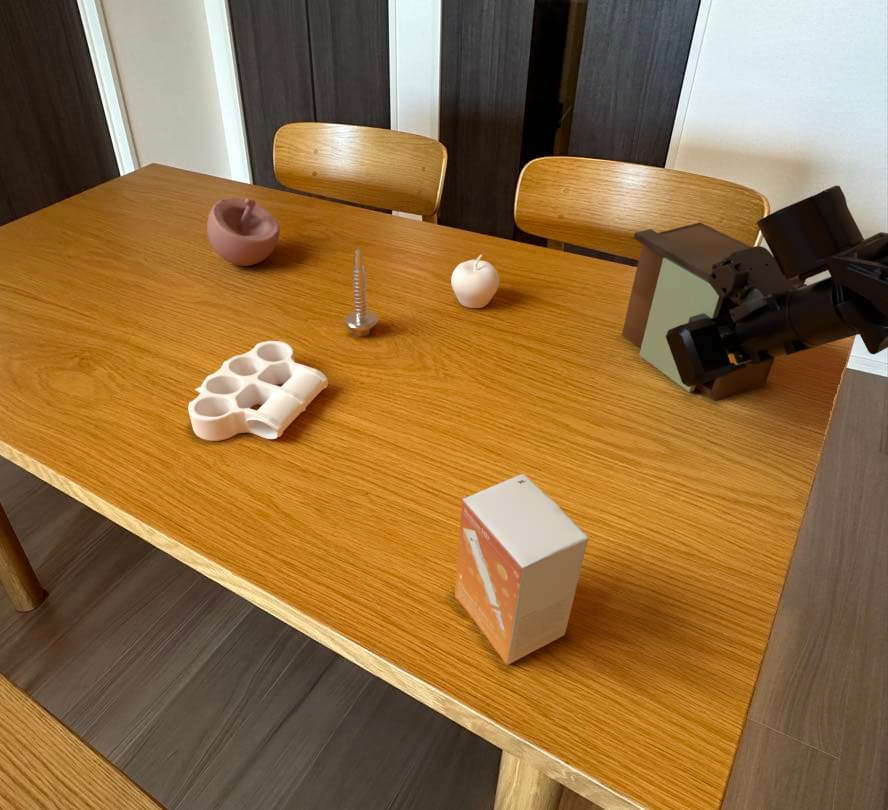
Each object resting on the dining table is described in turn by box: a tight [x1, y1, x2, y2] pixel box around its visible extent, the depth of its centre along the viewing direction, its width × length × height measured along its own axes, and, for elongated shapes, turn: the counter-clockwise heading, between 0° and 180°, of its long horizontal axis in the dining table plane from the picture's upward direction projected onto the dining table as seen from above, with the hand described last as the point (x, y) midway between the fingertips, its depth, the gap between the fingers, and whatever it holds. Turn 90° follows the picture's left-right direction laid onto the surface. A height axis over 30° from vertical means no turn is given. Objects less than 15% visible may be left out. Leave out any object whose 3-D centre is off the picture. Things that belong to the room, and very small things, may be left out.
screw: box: [343, 248, 379, 338], centre depth 96 cm, size 13×5×5 cm
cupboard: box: [621, 222, 807, 402], centre depth 85 cm, size 16×10×16 cm, turn 21°
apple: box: [450, 254, 500, 309], centre depth 103 cm, size 7×7×8 cm
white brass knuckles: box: [187, 340, 329, 442], centre depth 87 cm, size 3×18×15 cm
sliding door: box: [638, 257, 723, 393], centre depth 83 cm, size 9×3×14 cm, turn 21°
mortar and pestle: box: [206, 197, 280, 267], centre depth 116 cm, size 12×12×11 cm
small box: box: [454, 473, 590, 666], centre depth 58 cm, size 8×6×13 cm
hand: (696, 354), depth 80 cm, fingers closed
